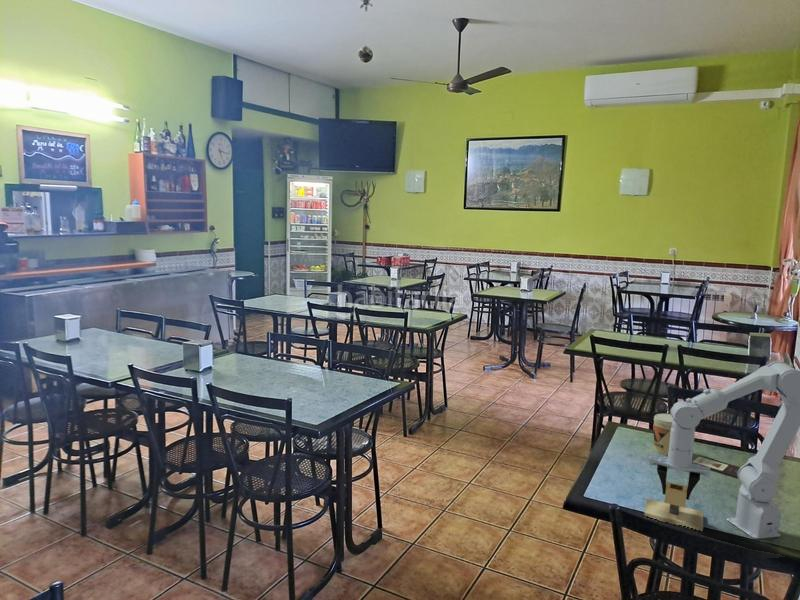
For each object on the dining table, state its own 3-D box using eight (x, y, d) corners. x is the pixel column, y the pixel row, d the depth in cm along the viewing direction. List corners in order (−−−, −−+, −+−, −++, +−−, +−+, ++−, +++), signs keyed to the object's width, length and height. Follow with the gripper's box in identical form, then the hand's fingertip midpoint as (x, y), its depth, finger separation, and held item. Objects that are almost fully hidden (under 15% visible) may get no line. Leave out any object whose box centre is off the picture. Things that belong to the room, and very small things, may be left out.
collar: (685, 499, 157) (687, 485, 156) (685, 507, 152) (686, 493, 152) (665, 494, 159) (666, 481, 158) (664, 502, 154) (665, 488, 154)
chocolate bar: (752, 481, 178) (690, 462, 190) (752, 484, 178) (690, 465, 190) (760, 473, 184) (700, 455, 196) (760, 476, 184) (700, 458, 197)
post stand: (702, 515, 157) (704, 500, 156) (702, 531, 149) (704, 515, 148) (646, 502, 163) (648, 487, 163) (644, 517, 155) (645, 501, 155)
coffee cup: (645, 446, 204) (648, 413, 202) (668, 445, 206) (672, 412, 204) (661, 457, 195) (665, 423, 193) (686, 456, 197) (690, 422, 195)
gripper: (711, 447, 153) (705, 495, 156) (652, 436, 160) (647, 483, 162) (712, 457, 147) (706, 507, 149) (650, 445, 154) (645, 493, 156)
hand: (675, 495), depth 155 cm, fingers closed on collar, 5 cm apart
